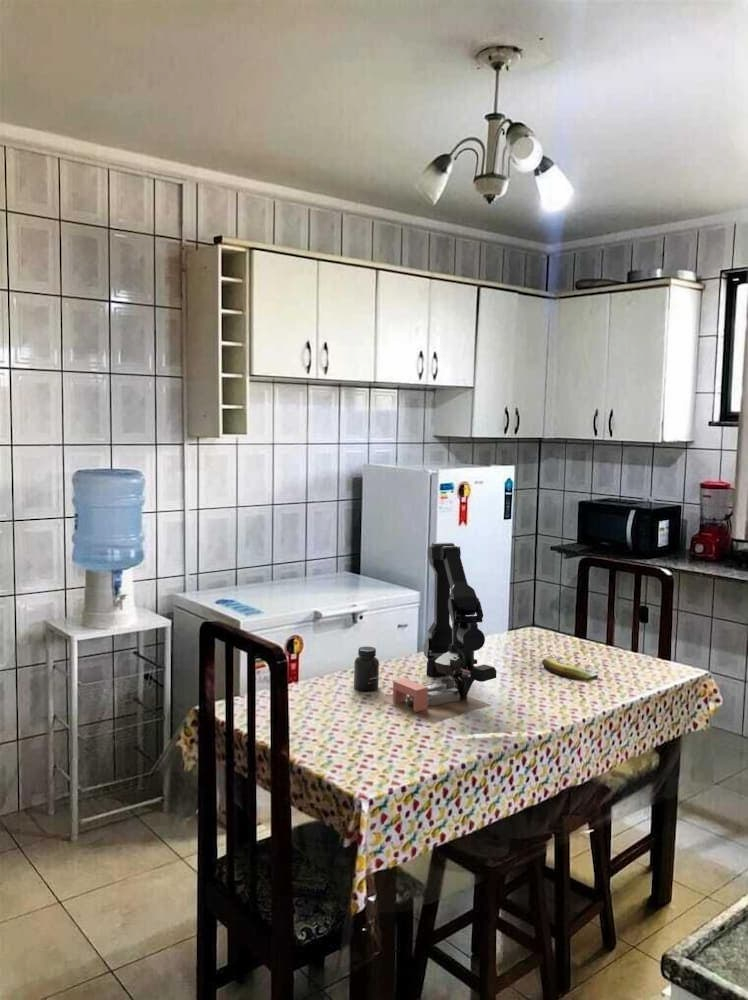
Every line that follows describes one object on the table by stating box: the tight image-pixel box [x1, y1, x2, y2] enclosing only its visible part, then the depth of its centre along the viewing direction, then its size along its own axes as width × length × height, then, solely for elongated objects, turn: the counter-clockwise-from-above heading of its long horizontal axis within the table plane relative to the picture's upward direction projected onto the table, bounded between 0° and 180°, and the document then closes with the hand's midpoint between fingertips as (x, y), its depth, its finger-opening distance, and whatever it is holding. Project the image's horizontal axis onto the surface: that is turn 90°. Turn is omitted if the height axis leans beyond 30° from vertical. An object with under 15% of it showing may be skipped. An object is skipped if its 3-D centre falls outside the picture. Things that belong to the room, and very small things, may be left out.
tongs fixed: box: [407, 677, 455, 707], centre depth 222 cm, size 16×4×4 cm, turn 130°
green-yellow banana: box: [540, 653, 599, 691], centre depth 249 cm, size 35×27×4 cm
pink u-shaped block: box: [392, 677, 428, 712], centre depth 216 cm, size 4×9×6 cm, turn 40°
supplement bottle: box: [353, 646, 380, 693], centre depth 230 cm, size 7×7×12 cm
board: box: [376, 682, 491, 724], centre depth 221 cm, size 21×22×1 cm
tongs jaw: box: [428, 684, 468, 706], centre depth 220 cm, size 15×3×3 cm, turn 119°
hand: (463, 698), depth 220 cm, fingers closed
